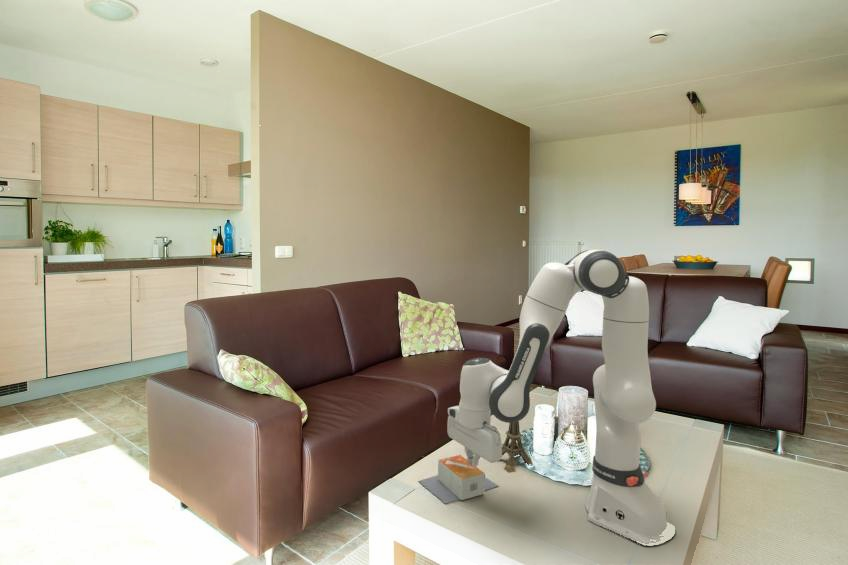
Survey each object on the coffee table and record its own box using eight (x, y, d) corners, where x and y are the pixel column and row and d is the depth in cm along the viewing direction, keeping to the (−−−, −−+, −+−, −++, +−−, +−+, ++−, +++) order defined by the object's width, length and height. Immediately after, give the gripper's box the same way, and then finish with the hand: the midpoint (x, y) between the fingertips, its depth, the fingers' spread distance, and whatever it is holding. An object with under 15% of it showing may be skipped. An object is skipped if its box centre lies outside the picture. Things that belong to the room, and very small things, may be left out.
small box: (461, 479, 134) (437, 459, 145) (461, 501, 135) (437, 479, 146) (485, 472, 138) (460, 454, 149) (485, 494, 138) (459, 474, 150)
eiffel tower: (535, 466, 157) (539, 391, 154) (508, 473, 152) (512, 395, 150) (515, 453, 166) (519, 381, 164) (489, 458, 162) (493, 385, 159)
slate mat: (498, 486, 143) (498, 485, 143) (445, 504, 133) (445, 503, 133) (468, 467, 155) (468, 466, 155) (418, 481, 145) (418, 480, 145)
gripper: (509, 427, 128) (506, 477, 129) (461, 403, 145) (459, 448, 146) (490, 431, 125) (488, 483, 126) (444, 406, 142) (442, 452, 143)
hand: (472, 464), depth 136 cm, fingers closed
